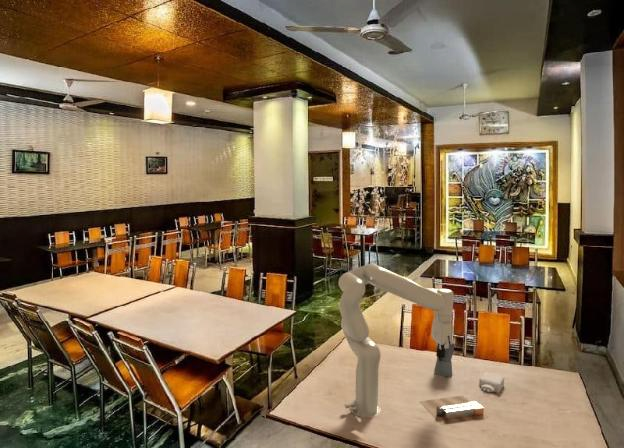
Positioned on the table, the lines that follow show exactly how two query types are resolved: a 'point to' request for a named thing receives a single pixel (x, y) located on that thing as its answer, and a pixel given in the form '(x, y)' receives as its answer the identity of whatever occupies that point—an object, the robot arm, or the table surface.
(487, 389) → the charger
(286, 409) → the table surface
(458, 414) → the bar
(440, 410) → the tong leg
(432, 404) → the board
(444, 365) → the moka pot
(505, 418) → the table surface
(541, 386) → the table surface
